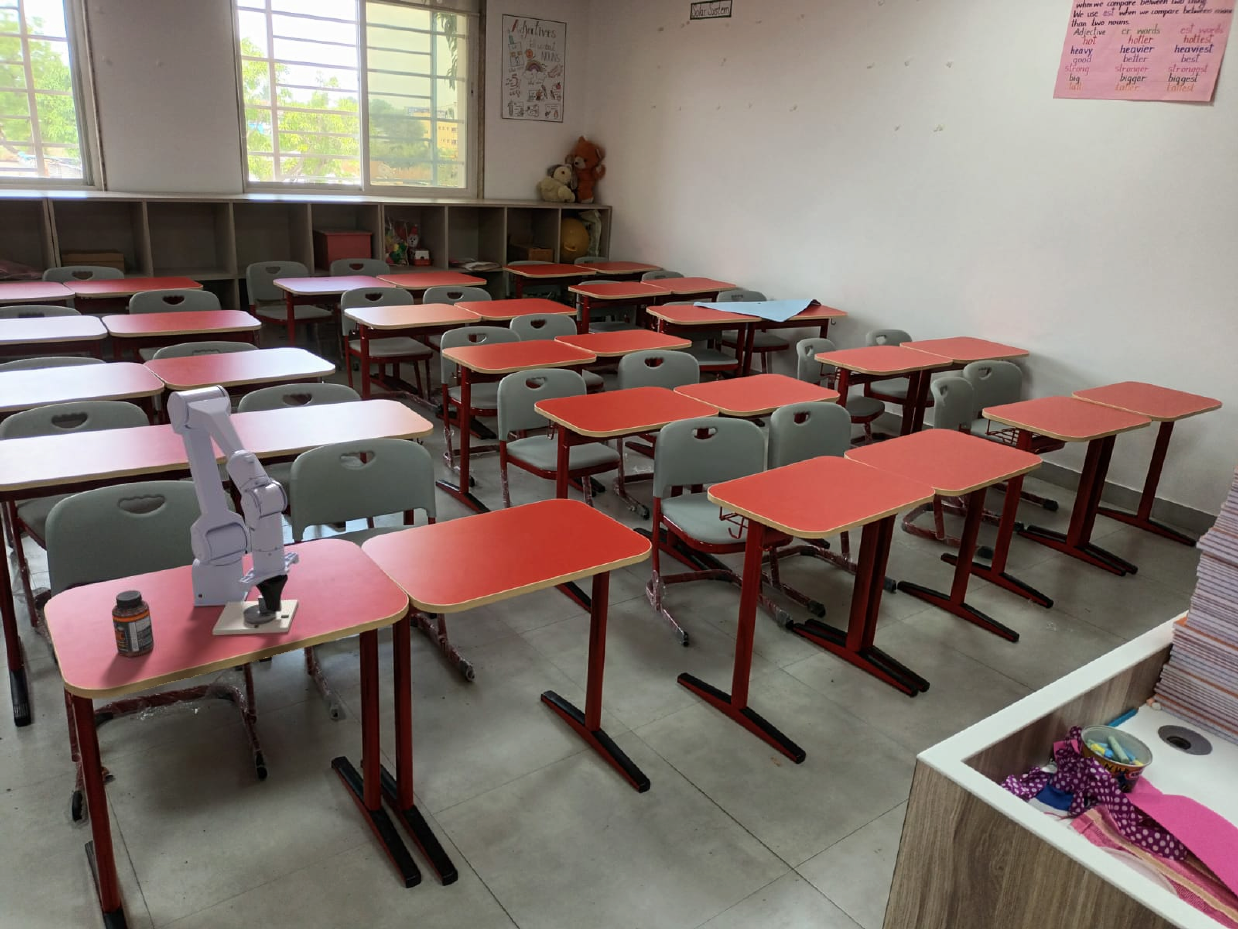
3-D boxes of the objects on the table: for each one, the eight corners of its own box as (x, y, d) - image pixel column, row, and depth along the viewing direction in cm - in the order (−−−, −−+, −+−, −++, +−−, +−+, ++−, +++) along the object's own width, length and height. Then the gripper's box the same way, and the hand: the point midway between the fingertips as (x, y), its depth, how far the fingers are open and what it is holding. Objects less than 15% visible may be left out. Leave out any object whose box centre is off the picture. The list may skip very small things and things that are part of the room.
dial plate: (213, 635, 165) (212, 629, 165) (228, 606, 176) (227, 600, 176) (287, 632, 168) (287, 626, 167) (298, 603, 179) (297, 598, 178)
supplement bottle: (111, 651, 158) (102, 595, 155) (143, 638, 163) (135, 584, 160) (128, 661, 155) (120, 605, 152) (161, 648, 160) (153, 593, 156)
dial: (240, 624, 167) (238, 602, 165) (247, 610, 172) (245, 587, 171) (279, 623, 168) (277, 600, 167) (284, 608, 174) (282, 586, 172)
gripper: (258, 563, 156) (264, 630, 161) (309, 535, 170) (314, 597, 174) (226, 557, 158) (233, 623, 163) (279, 529, 172) (284, 591, 176)
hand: (273, 609), depth 168 cm, fingers closed
